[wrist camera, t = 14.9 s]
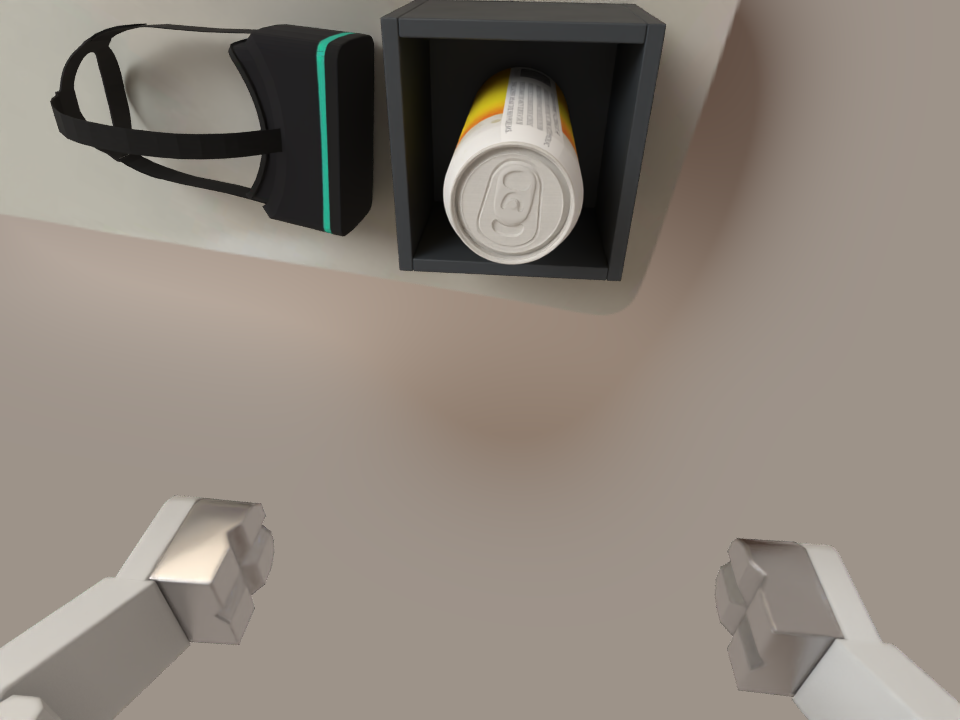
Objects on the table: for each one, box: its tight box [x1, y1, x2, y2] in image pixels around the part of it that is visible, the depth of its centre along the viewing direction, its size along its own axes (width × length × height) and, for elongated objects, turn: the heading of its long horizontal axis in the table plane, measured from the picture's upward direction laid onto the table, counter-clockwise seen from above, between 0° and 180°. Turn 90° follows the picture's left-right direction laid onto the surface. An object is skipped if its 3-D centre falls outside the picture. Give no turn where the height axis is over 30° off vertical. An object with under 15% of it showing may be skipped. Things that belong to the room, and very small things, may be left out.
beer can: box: [443, 67, 583, 265], centre depth 30 cm, size 6×6×15 cm
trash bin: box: [381, 0, 666, 281], centre depth 33 cm, size 13×13×10 cm
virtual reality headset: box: [50, 24, 374, 236], centre depth 34 cm, size 11×17×10 cm, turn 83°
